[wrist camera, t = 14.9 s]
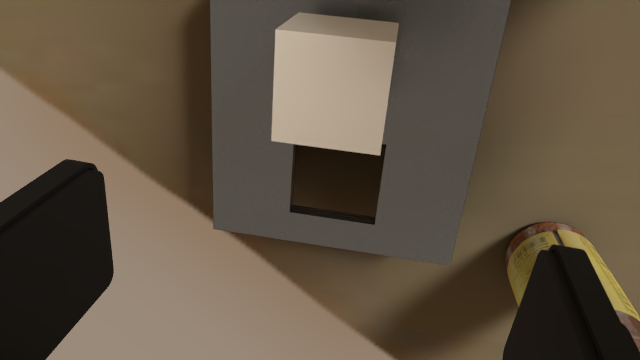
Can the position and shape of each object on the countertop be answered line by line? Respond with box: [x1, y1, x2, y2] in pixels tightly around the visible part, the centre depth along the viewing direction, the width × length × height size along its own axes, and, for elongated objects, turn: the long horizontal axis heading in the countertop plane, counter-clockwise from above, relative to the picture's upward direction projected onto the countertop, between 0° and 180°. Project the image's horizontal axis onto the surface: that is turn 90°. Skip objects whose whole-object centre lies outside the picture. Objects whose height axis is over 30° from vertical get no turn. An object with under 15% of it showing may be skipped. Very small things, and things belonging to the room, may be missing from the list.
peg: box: [271, 12, 399, 156], centre depth 28 cm, size 5×5×14 cm
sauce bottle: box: [505, 222, 640, 351], centre depth 30 cm, size 7×6×20 cm
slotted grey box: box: [210, 0, 511, 266], centre depth 34 cm, size 17×16×6 cm
